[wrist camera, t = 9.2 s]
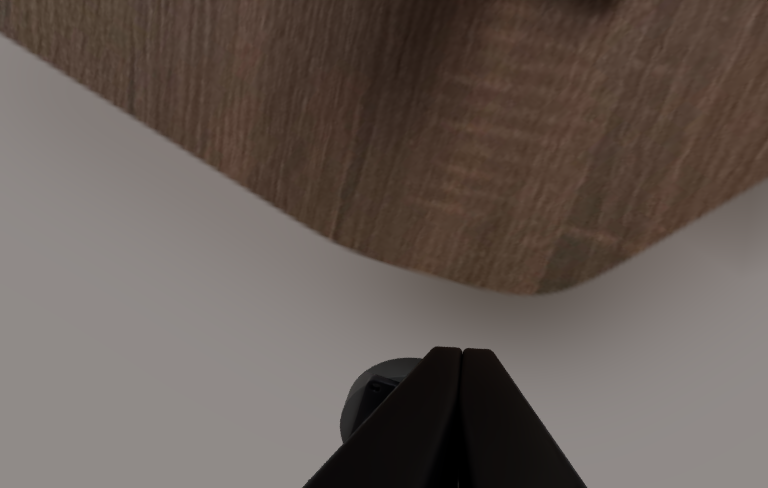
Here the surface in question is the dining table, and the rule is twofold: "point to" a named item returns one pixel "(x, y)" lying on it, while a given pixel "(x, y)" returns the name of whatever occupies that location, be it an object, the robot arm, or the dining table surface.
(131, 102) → the dining table surface
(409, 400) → the robot arm
